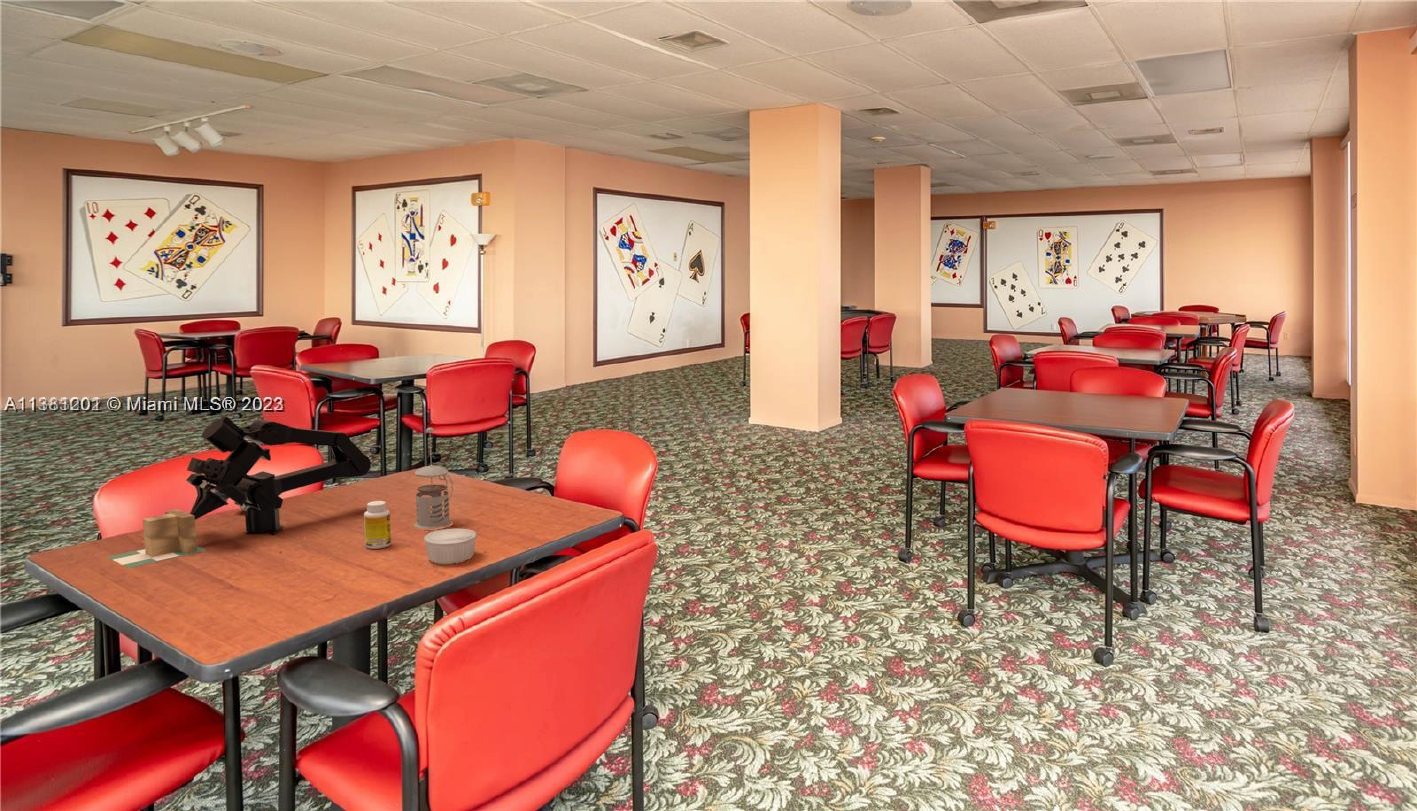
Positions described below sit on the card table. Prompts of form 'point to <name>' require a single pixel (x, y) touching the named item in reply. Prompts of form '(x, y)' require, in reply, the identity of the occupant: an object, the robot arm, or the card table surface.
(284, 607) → the card table surface
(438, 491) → the french press
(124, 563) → the board
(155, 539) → the oak t block
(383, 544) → the supplement bottle
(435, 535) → the ramekin
